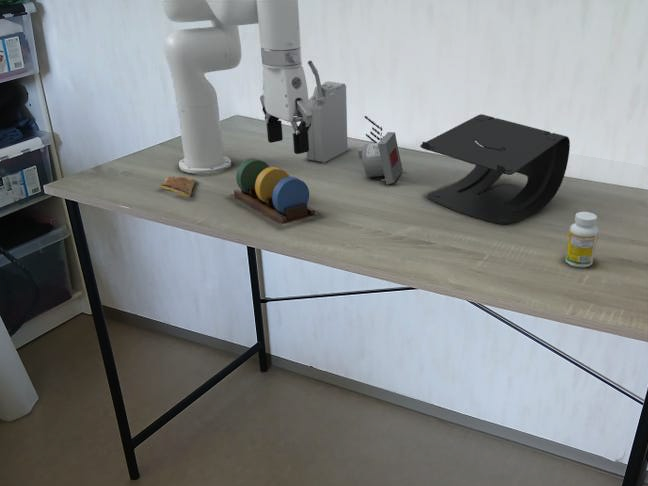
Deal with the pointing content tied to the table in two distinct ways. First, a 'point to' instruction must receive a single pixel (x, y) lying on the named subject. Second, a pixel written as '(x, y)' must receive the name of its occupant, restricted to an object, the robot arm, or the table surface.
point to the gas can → (327, 120)
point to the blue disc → (289, 193)
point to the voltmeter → (381, 156)
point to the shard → (179, 185)
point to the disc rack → (269, 209)
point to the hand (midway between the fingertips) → (288, 146)
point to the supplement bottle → (582, 240)
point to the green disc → (249, 173)
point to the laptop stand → (501, 168)
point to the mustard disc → (268, 181)
